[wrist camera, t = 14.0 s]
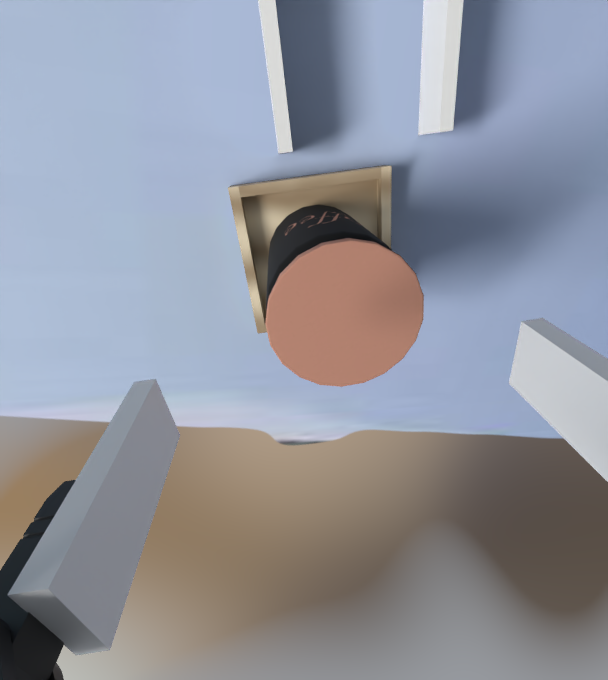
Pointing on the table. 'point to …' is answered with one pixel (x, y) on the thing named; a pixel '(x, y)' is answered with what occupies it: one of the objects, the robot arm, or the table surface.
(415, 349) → the table surface
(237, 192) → the tray
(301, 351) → the coffee jar
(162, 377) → the table surface
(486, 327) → the table surface
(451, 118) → the frame
